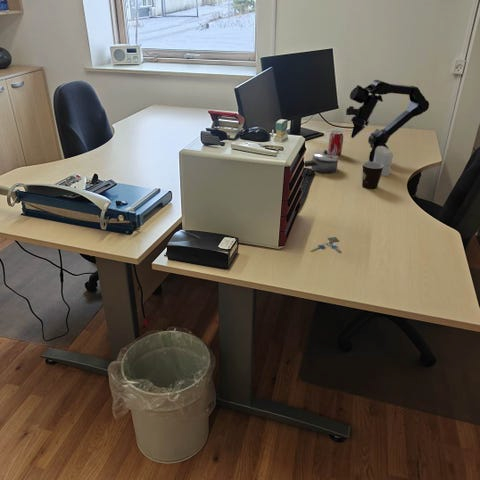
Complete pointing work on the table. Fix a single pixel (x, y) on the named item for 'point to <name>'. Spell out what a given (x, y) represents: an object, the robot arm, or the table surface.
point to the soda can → (335, 142)
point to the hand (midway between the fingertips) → (351, 137)
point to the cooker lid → (325, 156)
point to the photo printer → (383, 159)
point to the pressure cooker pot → (322, 166)
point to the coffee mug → (371, 174)
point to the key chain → (330, 243)
